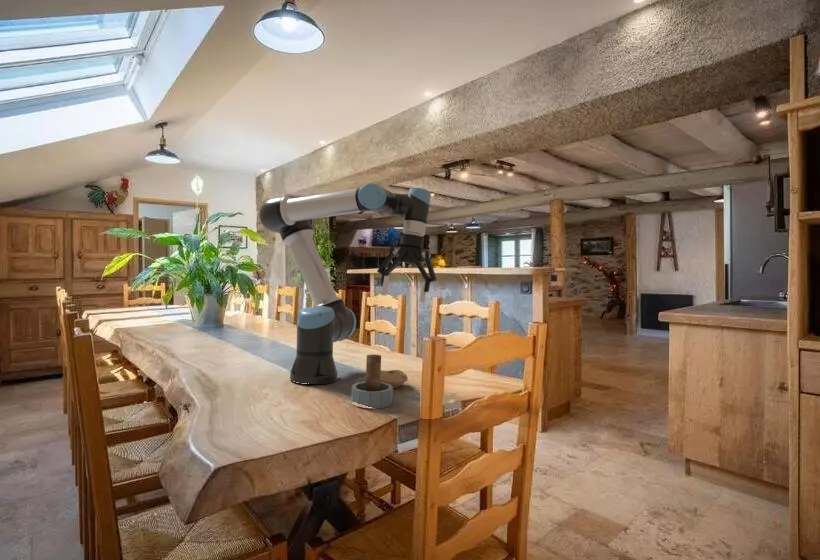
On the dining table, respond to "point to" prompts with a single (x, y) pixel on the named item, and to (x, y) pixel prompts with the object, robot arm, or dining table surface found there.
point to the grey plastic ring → (372, 395)
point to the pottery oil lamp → (393, 377)
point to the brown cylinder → (373, 373)
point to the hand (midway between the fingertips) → (402, 298)
